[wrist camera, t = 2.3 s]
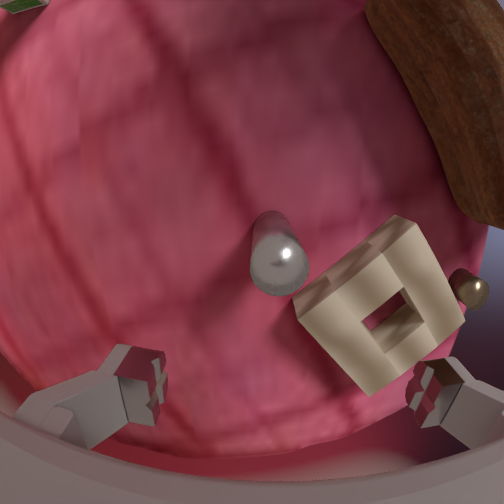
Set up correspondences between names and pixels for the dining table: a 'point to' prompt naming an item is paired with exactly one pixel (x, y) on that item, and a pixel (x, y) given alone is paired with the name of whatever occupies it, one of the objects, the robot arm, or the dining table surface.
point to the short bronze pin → (469, 288)
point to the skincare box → (21, 5)
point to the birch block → (373, 296)
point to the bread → (454, 89)
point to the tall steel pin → (277, 256)
